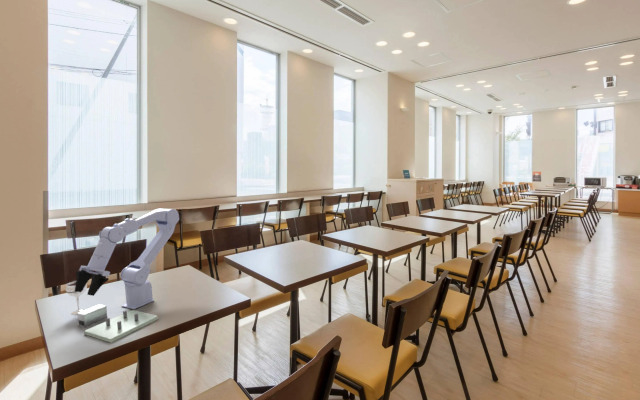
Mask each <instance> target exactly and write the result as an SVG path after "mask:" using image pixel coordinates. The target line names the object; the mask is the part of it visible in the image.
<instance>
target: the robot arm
mask: <svg viewBox="0 0 640 400" xmlns="http://www.w3.org/2000/svg"><path fill="white" fill-rule="evenodd" d="M179 221H180V214H179V211H178V210H177V209H175V208H162V207H159V208H156V209H152V211H150V212H148V213H146V214H143V215H142V216H140V217H138V218H135V219H133V218H129V217H127V218H125V219H124V221H122V222H118V223H114V224H113V225H112V226H106V227H104V228H102V230H99V234H98V237H99V240H98V243H97V245H96V247H95V249H94V251H93V254H92V255H91V257H90V260H89V262H88V264H87V265H80V267H79V269H78V270H76V271H75V276H76V278H75V281H76V286H75V291H77V292H81V291H82V290H83V289H84V287H85V285H86V284H87V283H88V282H89V281H90V279H91V281H90V285H89V288H88V291H87V296H92V297H93V296H95V295H96V294H97V293H98V292H99V289H100V288H101V287H102V286H103V285H104V284H105V283H106V282H108V281H109V278H108V277H109V276H110V274H111V272H110V271H108V270H105V269H106V267H107V265H108V263H109V261H110V259H111V257H112V254H113V252H114V250H115V248H116V246H117V243H119V242H122V240H123V239H124V238H125V237H127V236H129V235H131V234H133V233H135V232H138V230H139V228H140V227H143V226H145V225H147V224H150V223H153V222H156V226H157V227H158V229H159V231H158V232H157V233H156V234H155V236H154V237H153V238H152V240H150V242H149V244H148V245H147V246H146V247H145V248H144V250H143V251H142V252H141V254H140V255H139V257H138V258H137V259H136V260H134V261H132V262H130V263H129V265H127V266H126V267H124V268H123V269H122V270H121V272H120V275H119V277H120V280H121V281H123V283H124V290H125V303H123V304H121V307H124V308H127V309H131V310H136V309H137V308H138V309H139V308H140V307H142V306H146V305H147V304H150V303H152V302H154V301H155V299H154V298H153V287H152V283H151V282H150V281H149V280H148V278H149V275H150V272H151V270H152V269H151V267H150V266H151V264H152V263H153V262H154V260H155V259H156V257H157V256H158V254H159V253H160V252H161V251H162V249H163V248H164V247H165V245H166V243H168V240H169V239H170V238H171V237H172V235H173V233H174V232H175V229H176V225H177V223H178V222H179ZM94 271H95V272H94Z"/></svg>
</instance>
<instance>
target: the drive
mask: <svg viewBox="0 0 640 400" xmlns="http://www.w3.org/2000/svg"><path fill="white" fill-rule="evenodd" d="M107 318H108V310H107V305H104V304H96V305H94V306H91V307H89V308H86V309H85V310H83V311H81V312H78V313H77V324H78V327H82V328H88V327H90V326H92V325H95V324H97V323H100V322H101V321H103V320H106V319H107Z"/></svg>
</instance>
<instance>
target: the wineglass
mask: <svg viewBox="0 0 640 400" xmlns="http://www.w3.org/2000/svg"><path fill="white" fill-rule="evenodd" d="M65 286H66V287H65V292H66V293H67V295H69V296H72V297H75V299H76V305H77V309H76V310H75V311H72V312H71V313H70V315H73V316H74V315H75V316H76V315H77V313H78V312H81V311H83V310H86V309H85V308H84V309H80V296H81V295H83V294H84V293H85V292H86V291H87V288H88V285H87V283H86V285H85V287H84V289H83V290H82V291H81V292H77V291H75V286H76V280H72V281H70V282H67V283H66V284H65Z"/></svg>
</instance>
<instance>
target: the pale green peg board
mask: <svg viewBox="0 0 640 400" xmlns="http://www.w3.org/2000/svg"><path fill="white" fill-rule="evenodd" d="M158 319H159V317H158V315H155V314H151V313H147V312H142V311H139V310H136V309H131V310H123V311H122V314H120V315H118V316H115V317H113V318H110V317H107V318H106V319H105V321H104V322H101V323H99V324H97V325H94V326H93V327H89V328H88V329H85V330H84V331H83V332H84V335H86V336H90V337H93V338H95V339H99V340H102V341H105V342H106V343H107V342H108V343H113V342H115V341H117V340H119V339H121V338H124V337H125V336H127V335H129V334H131V333H133V332H134V331H137V330H139V329H140V328H143V327H145V326H147V325H149V324H151V323H153V322H155V321H158Z"/></svg>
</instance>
